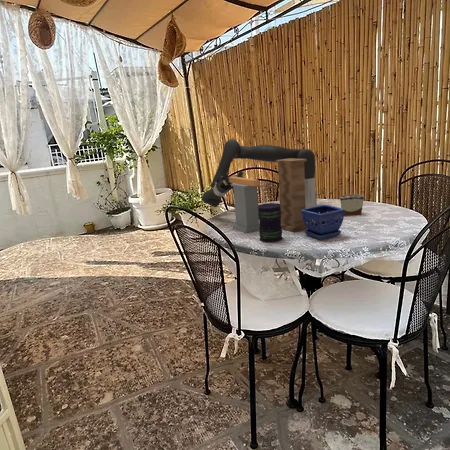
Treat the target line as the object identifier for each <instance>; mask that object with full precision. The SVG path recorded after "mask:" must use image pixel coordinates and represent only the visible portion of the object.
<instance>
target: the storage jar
mask: <svg viewBox="0 0 450 450" xmlns="http://www.w3.org/2000/svg"><path fill="white" fill-rule="evenodd" d="M280 207H281V205H280V203H277V202H269V203H268V202H266V203H261V204H258V218H259V224H260V227H259V230H258V232H259V241H260V242H263V243H276V242H280V241H282V240H283V229H282V226H281V208H280Z"/></svg>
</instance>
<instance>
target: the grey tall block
mask: <svg viewBox="0 0 450 450" xmlns="http://www.w3.org/2000/svg"><path fill="white" fill-rule="evenodd" d="M231 186H232V189H233V201H234V203H233V204H234V212H235V213H234V215H235V223H233V224H232V229H234V230H237V231H240V232H242V233H245V234H247V233H250V232H251V233H252V232H255V231H259V227H260V224H259V218H258V205H259V201H258V187H259V186H260V184H259V185H258V186H249V185H243V184H236V183H233V184H231Z"/></svg>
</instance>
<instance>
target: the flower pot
mask: <svg viewBox="0 0 450 450" xmlns="http://www.w3.org/2000/svg"><path fill="white" fill-rule="evenodd" d="M301 214H302V218H303V221H304V224H305V226H306V228H307V229H304V230H303V231H304V234H306V235H307V236H310V237H311V238H315V239H317V240H320V241H321V240H325V239H330V238H333V237H337V236H339V235H340V234H342V230H340V228H341V226H342V224H343V221H344V219H345V216H344V209H342V208H341V207H338V206H333V205H328V204H321V205H317V206H315V207H311V208H306V209H303V210H301Z"/></svg>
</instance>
